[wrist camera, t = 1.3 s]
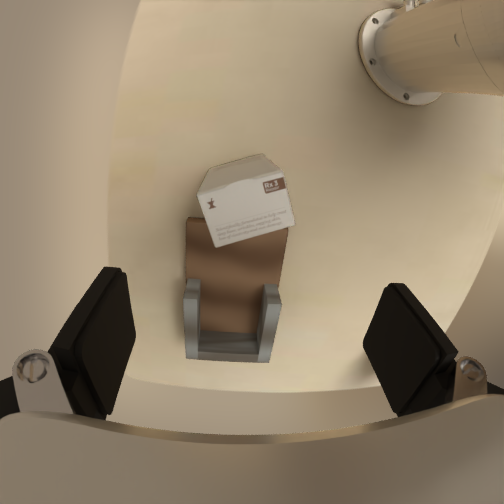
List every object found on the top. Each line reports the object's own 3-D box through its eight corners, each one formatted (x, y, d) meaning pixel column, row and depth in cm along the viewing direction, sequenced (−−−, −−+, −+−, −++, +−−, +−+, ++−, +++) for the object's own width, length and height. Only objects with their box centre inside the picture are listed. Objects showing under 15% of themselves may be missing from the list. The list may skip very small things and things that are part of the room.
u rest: (188, 217, 31) (179, 237, 26) (286, 224, 32) (295, 245, 27) (189, 337, 39) (184, 365, 34) (265, 341, 40) (269, 370, 35)
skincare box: (220, 204, 31) (212, 255, 20) (207, 165, 29) (190, 195, 18) (275, 189, 30) (298, 231, 20) (264, 149, 28) (283, 169, 18)
